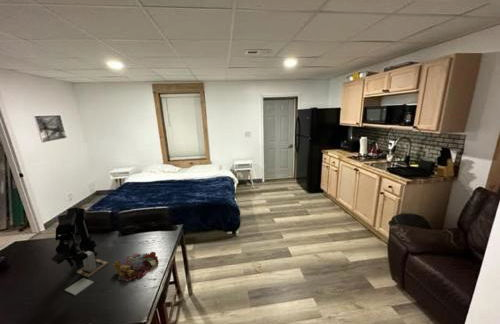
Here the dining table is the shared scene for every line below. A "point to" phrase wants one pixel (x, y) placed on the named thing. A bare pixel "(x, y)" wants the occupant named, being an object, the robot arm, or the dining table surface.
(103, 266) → the frame
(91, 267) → the skincare box
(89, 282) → the ceramic coaster
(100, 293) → the dining table surface
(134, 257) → the candy landscape model
